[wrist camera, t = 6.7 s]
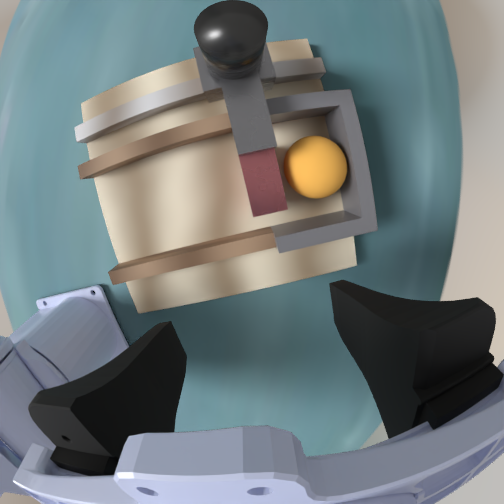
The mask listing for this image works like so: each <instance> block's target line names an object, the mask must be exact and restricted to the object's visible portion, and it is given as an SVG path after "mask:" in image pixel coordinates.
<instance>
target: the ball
mask: <svg viewBox="0 0 504 504" xmlns="http://www.w3.org/2000/svg"><path fill="white" fill-rule="evenodd" d="M283 168H284V174H285V177H286V179H287V181H288V183H289V185H290V186H291V187H292V188H293V189H294V190H295V191H296V192H298V193H299V194H301V195H303V196H305V197H308V198H316V199H317V198H325V197H328V196H330V195H332V194H333V193H335V192H336V191H337V190H338V189H339V188H340V187H341V186H342V184H343V183H344V180H345V178H346V174H347V162H346V158H345V156H344V154H343V152H342V150H341V149H340V147H339V146H338V145H337V144H335V143H334V142H333V141H331V140H330V139H327V138H325V137H322V136H307V137H303V138H301V139H299V140H297V141H296V142H295V143H293V144H292V145H291V147H290V148H289V149H288V151H287V153H286V155H285V158H284V165H283Z"/></svg>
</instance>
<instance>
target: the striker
mask: <svg viewBox="0 0 504 504" xmlns="http://www.w3.org/2000/svg"><path fill="white" fill-rule="evenodd" d="M267 29H268V21H267V18H266V16H265V14H264V13H263V12H262V11H261V10H260V9H259V8H258V7H257V6H255V5H253V4H251V3H248V2H245V1H239V0H227V1H221V2H218V3H215V4H213V5H211V6H209V7H207V8H206V9H204V10H203V11H202V12H201V13H200V14H199V16H198V17H197V19H196V21H195V24H194V33H195V36H196V39H197V41H198V44H199V47H196V48H193V50H194V54H195V58H196V63H197V67H198V71H199V76H200V80H201V84H202V88H203V92H204V94H205V96H206V98H207V100H208V102H209V103H211V102H215V101H219V100H223V99H225V103H226V107H227V111H228V115H229V119H230V123H231V128H232V132H233V136H234V140H235V144H236V148H237V152H238V156H239V160H240V164H241V168H242V172H243V176H244V181H245V185H246V189H247V193H248V197H249V202H250V206H251V210H252V214H253V217H257V216H262V215H266V214H270V213H275V212H279V211H284V210H288V207H287V202H286V198H285V193H284V188H283V184H282V179H281V175H280V170H279V166H278V162H277V157H276V153H275V148H276V147H277V142H276V138H275V134H274V130H273V126H272V122H271V118H270V114H269V110H268V106H267V103H266V99H265V95H264V91H267V90H272V88H273V85H274V82H275V79H276V73H275V69H274V66H273V63H272V59H271V56H270V53H269V50H268V47H267V43H266V35H267Z"/></svg>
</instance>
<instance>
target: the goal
mask: <svg viewBox="0 0 504 504" xmlns="http://www.w3.org/2000/svg"><path fill="white" fill-rule="evenodd" d="M266 103H267V106H268V110H269V114H270V118H271V122H272V124H273V123H279V122H285V121H290V120H297V119H303V118H310V117H317V116H324V117H325V121H326V125H327V130H328V134H329V138H330V140H331V141H333V142H334V143H335V144H337V145H338V146H339V147H340V149H341V150H342V152H343V154H344V156H345V158H346V162H347V174H346V178H345V180H344V183H343V184H342V186H341V187H340V192H341V198H342V203H343V210H342V211H337V212H332V213H328V214H323V215H318V216H314V217H309V218H305V219H300V220H296V221H291V222H287V223H282V224H278V225H274V226H270V227H271V229H272V231H273V233H274V238H275V243H276V247H277V250H278V252H279V254H280V253H284V252H288V251H292V250H297V249H301V248H305V247H310V246H314V245H318V244H322V243H327V242H331V241H335V240H339V239H343V238H348V237H352V236H356V235H360V234H364V233H369V232H373V231H377V230H378V228H377V219H376V211H375V203H374V196H373V189H372V183H371V177H370V171H369V166H368V160H367V155H366V150H365V145H364V141H363V136H362V132H361V128H360V123H359V119H358V115H357V111H356V108H355V104H354V100H353V97H352V93H351V90H350V89H345V90H332V91H321V92H312V93H303V94H296V95H289V96H282V97H276V98H270V99H266Z"/></svg>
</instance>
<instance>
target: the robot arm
mask: <svg viewBox="0 0 504 504" xmlns="http://www.w3.org/2000/svg"><path fill="white" fill-rule="evenodd" d="M329 285H330V292H331V298H332V306H333V313H334V321H335V324H336V327H337V329H338V332H339V334H340V336H341V338H342V340H343V342H344V344H345V345H346V347H347V348H348V350H349V352H350V353H351V355H352V357H353V358H354V360H355V361H356V363H357V365H358V366H359V368H360V370H361V371H362V373H363V375H364V377H365V379H366V381H367V383H368V385H369V387H370V390H371V392H372V394H373V397H374V399H375V402H376V404H377V407H378V409H379V412H380V415H381V418H382V420H383V423H384V426H385V429H386V432H387V435H388V438H389V439H388V440H385V441H383V442H380V443H378V444H375V445H372V446H370V447H367V448H364V449H360V450H355V451H349V452H342V453H335V454H327V455H319V456H308V457H306V456H305V454H304V452H303V448H302V444H301V442H300V441H299V440H298V439H297V438H296V437H295V435H294V434H293V433H292V432H290V431H286V430H283V429H279V428H275V427H271V426H268V425H266V426H240V427H233V428H225V429H216V430H205V431H192V432H174V429H175V418H176V412H177V408H178V403H179V399H180V395H181V391H182V387H183V382H184V378H185V373H186V361H187V356H186V353H185V351H184V349H183V347H182V345H181V343H180V340H179V338H178V336H177V334H176V332H175V329H174V327H173V325H172V322H171V321H169V322H164V323H159V324H157V325H156V326H154V327H153V328H152V329H150V330H149V331H148V332H147V333H145V334H144V335H143V336H142V337H140V338H139V339H138V340H137V341H136V342H134V343H133V344H132V345H131V346H130V347H129V345H128V343H127V341H126V339H125V337H124V335H123V333H122V331H121V329H120V327H119V325H118V323H117V321H116V318H115V316H114V314H113V312H112V309H111V307H110V305H109V302H108V300H107V298H106V295H105V293H104V290H103V288H102V287H101V286H99V285H95V286H91V287H87V288H82V289H78V290H74V291H70V292H66V293H61V294H57V295H53V296H49V297H45V298H40V299H38V300H37V306H38V308H39V311H38V312H36V313H35V314H34V315H33V316H32V317H30V318H29V319H28V320H27V321H26V322H25V323H23V324H22V325H21V326H20V327H19V328H18V329H17V330H16V331H14V332H13V333H12V334H11V335H10V336H9V337H6V338H5V337H3V336H0V497H1V495H2V494H3V493H4V492H9V493H15V494H20V495H26V496H32V497H33V498H34V499H36V500H37V501H39V502H40V503H42V504H435V503H436V502H438V501H440V500H441V499H443V498H445V497H446V496H448V495H449V494H451V493H452V492H454V491H455V490H457V489H458V488H460V487H461V486H463V485H464V484H465V483H467V482H468V481H469V480H471V479H472V478H474V477H475V476H476V475H478V474H479V473H480V472H481V471H483V470H484V469H485V468H486V467H488V466H489V465H490V464H491V463H492V462H493V461H495V460H496V459H497V458H498V457H499V456H500V455H502V454H503V453H504V360H503V361H502V362H501V363H500V364H499V366H498V367H496V366H495V365H494V364H493V363H492V362H493V361H494V356H493V355H492V354H491V353H489V349H490V345H491V342H492V338H493V334H494V330H495V324H496V318H495V312H494V310H493V308H492V307H490V306H489V305H488V304H486V303H485V302H484V301H482V300H481V299H479V298H477V297H476V298H470V299H463V300H455V301H420V300H410V299H405V298H399V297H394V296H390V295H386V294H383V293H379V292H376V291H373V290H370V289H367V288H365V287H362V286H359V285H357V284H354V283H351V282H348V281H345V280H340V281H336V282H333V283H329ZM93 290H94V291H95V293H93Z"/></svg>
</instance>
